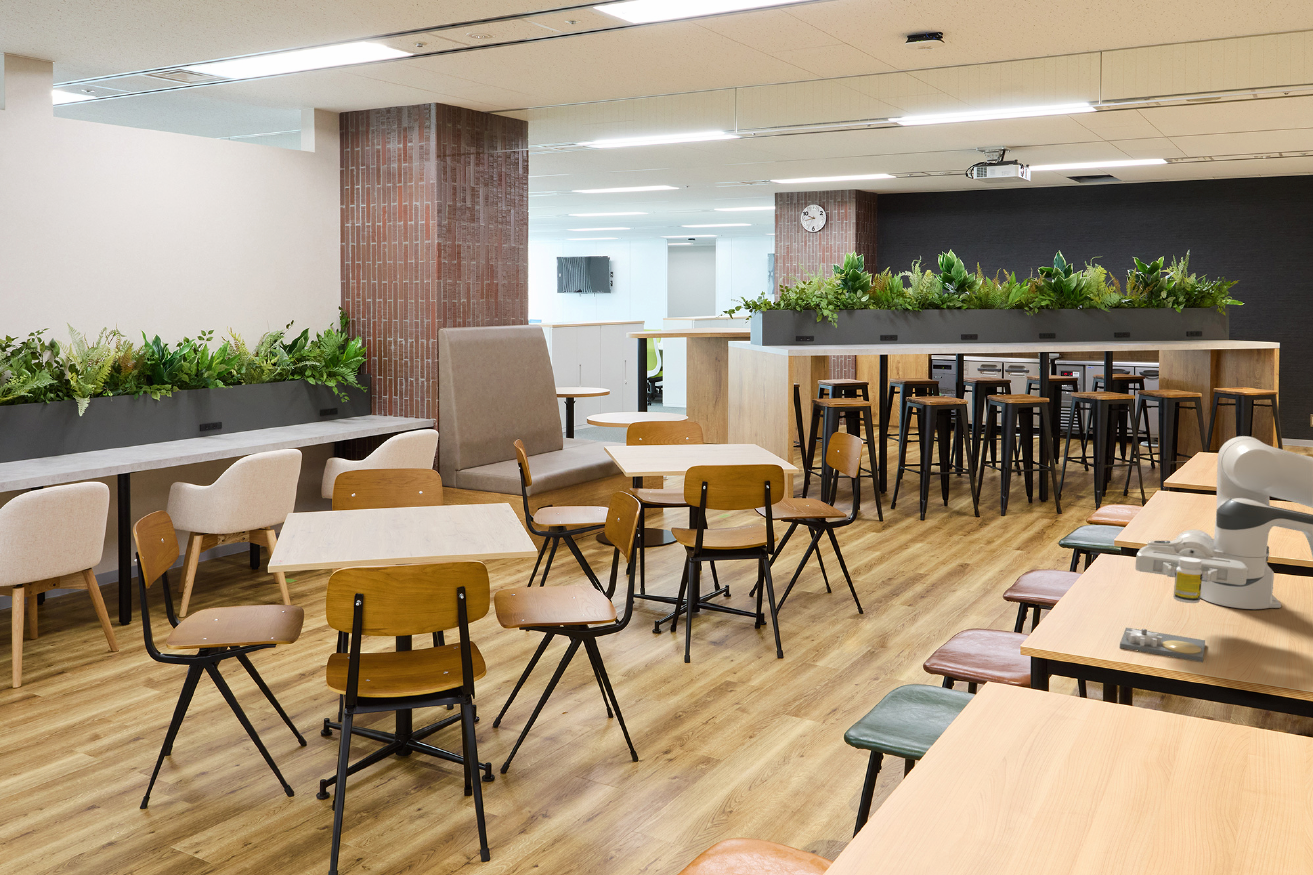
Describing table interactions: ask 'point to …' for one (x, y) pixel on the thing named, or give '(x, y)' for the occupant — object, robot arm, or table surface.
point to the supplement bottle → (1188, 580)
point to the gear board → (1163, 644)
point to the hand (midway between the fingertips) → (1188, 575)
